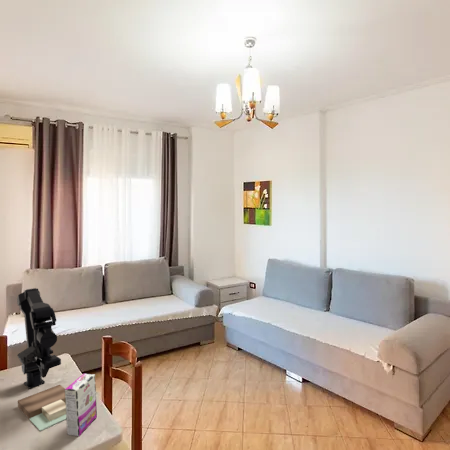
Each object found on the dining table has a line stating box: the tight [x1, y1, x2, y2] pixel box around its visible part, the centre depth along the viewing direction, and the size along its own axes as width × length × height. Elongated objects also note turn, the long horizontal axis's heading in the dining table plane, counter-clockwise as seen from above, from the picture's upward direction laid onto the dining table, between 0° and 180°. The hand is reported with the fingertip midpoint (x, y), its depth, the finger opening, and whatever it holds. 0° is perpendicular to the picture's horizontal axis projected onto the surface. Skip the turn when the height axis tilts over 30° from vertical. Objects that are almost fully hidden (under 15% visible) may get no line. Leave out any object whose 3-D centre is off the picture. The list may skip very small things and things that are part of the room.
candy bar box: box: [65, 373, 98, 437], centre depth 124 cm, size 11×5×16 cm, turn 168°
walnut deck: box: [17, 384, 66, 419], centre depth 138 cm, size 12×16×2 cm
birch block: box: [42, 400, 66, 421], centre depth 131 cm, size 7×7×2 cm
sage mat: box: [29, 413, 66, 432], centre depth 131 cm, size 10×16×1 cm, turn 138°
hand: (43, 377), depth 138 cm, fingers closed
